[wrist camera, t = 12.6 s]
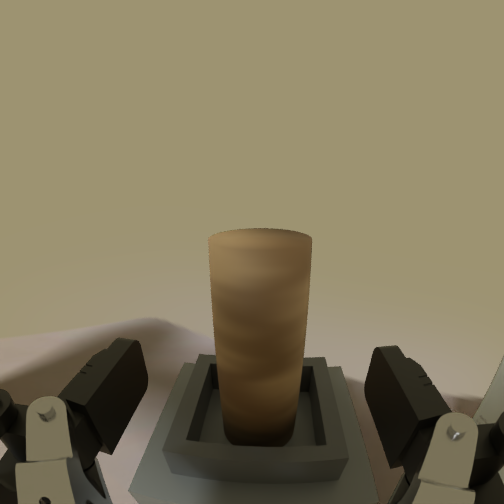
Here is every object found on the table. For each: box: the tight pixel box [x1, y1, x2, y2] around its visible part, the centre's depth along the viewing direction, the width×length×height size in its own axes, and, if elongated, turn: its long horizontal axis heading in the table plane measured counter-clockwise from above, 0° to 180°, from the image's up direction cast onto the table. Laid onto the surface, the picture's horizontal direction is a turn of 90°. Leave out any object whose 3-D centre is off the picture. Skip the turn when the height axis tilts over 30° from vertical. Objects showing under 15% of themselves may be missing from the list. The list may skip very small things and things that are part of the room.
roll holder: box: [128, 354, 379, 504], centre depth 16 cm, size 13×13×8 cm
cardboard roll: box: [208, 228, 312, 447], centre depth 14 cm, size 4×4×12 cm
